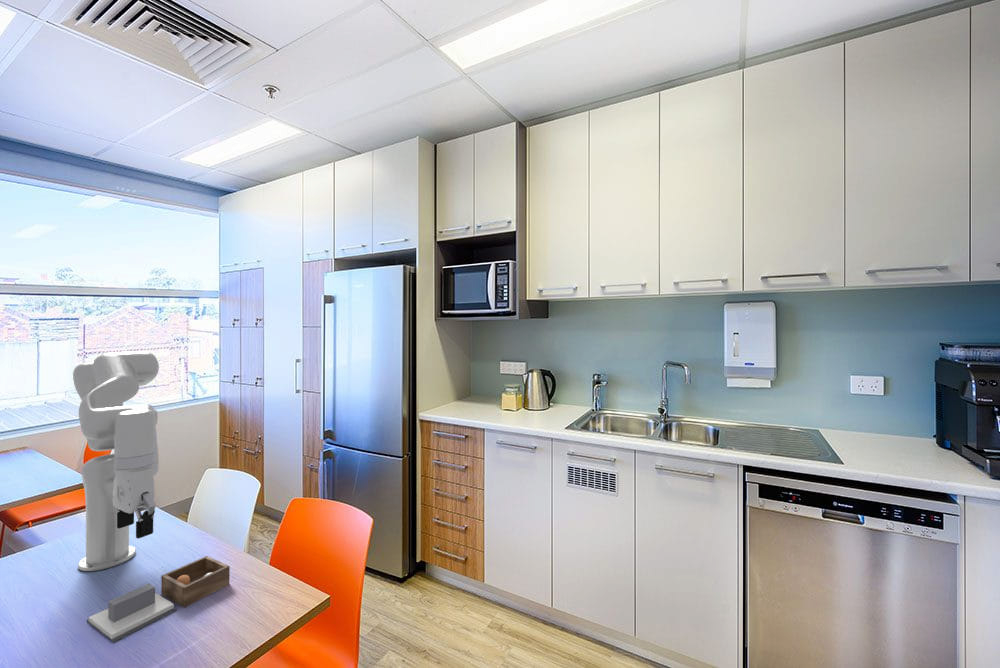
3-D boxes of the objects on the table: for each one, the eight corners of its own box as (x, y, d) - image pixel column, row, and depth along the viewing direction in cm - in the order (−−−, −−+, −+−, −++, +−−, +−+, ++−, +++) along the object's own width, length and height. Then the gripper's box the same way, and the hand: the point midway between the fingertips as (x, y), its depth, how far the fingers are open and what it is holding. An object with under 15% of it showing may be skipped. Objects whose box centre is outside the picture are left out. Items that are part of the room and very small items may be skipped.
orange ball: (172, 589, 111) (172, 577, 111) (186, 582, 114) (186, 571, 114) (179, 592, 109) (179, 580, 109) (192, 586, 112) (192, 574, 112)
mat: (86, 621, 100) (86, 620, 100) (147, 593, 110) (147, 592, 110) (114, 642, 93) (114, 640, 93) (176, 610, 104) (176, 609, 104)
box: (161, 594, 110) (161, 575, 110) (206, 573, 120) (206, 555, 120) (184, 607, 105) (184, 587, 105) (229, 584, 115) (229, 566, 115)
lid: (88, 621, 99) (88, 600, 99) (149, 593, 110) (149, 574, 110) (111, 639, 94) (111, 617, 94) (173, 607, 104) (173, 587, 104)
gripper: (99, 459, 103) (99, 528, 103) (132, 472, 95) (132, 547, 95) (137, 451, 109) (136, 516, 110) (171, 462, 101) (171, 533, 101)
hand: (134, 530), depth 102 cm, fingers open, 9 cm apart
